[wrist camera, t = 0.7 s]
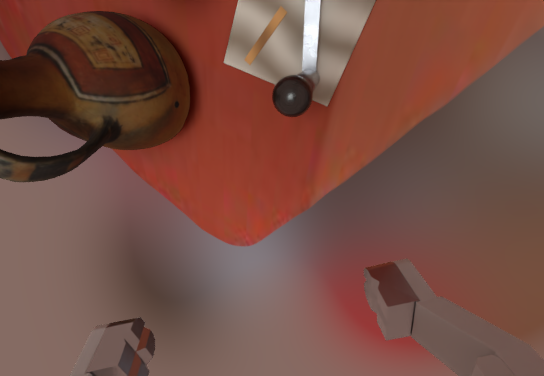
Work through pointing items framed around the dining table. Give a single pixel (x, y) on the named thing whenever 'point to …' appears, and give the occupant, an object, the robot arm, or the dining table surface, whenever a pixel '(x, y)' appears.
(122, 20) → the ceramic pitcher
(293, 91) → the lever
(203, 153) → the dining table surface
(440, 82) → the dining table surface
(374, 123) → the dining table surface
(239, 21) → the beige square panel
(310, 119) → the dining table surface
